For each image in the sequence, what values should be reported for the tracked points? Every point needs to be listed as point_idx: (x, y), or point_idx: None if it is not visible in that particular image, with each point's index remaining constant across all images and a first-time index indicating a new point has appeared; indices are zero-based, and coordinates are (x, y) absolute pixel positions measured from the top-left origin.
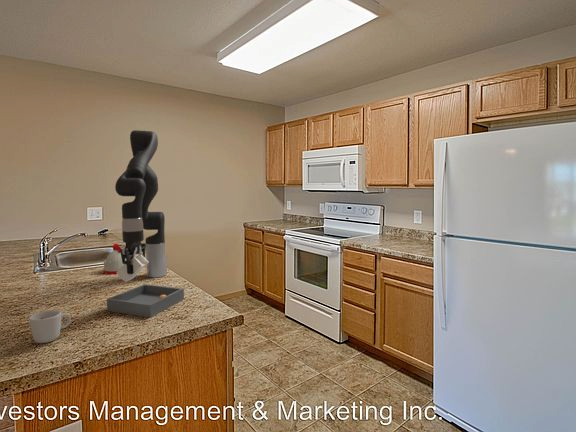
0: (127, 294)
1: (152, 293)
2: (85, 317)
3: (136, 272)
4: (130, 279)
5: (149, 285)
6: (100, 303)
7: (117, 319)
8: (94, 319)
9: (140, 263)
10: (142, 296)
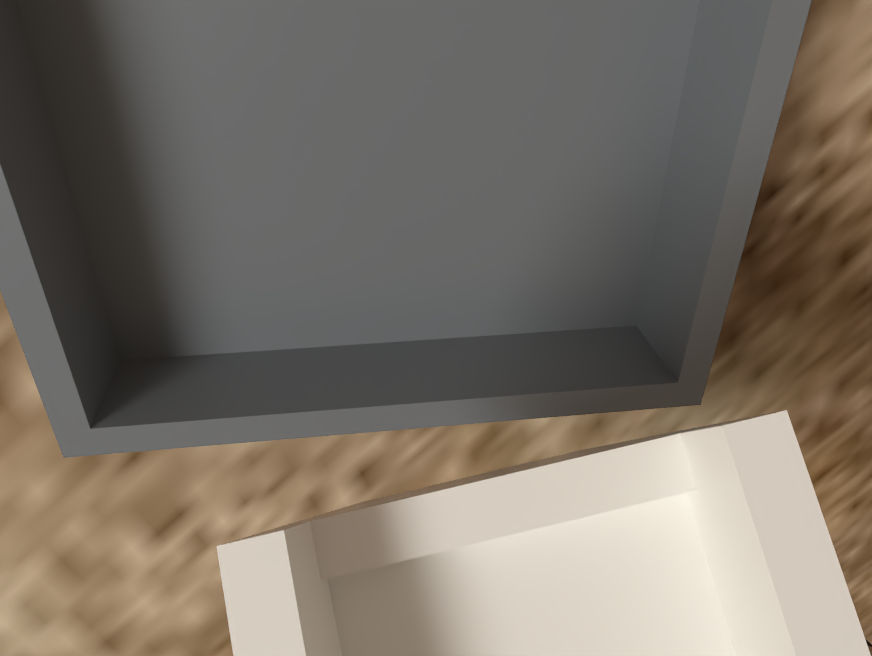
0: (419, 381)
1: (88, 253)
2: (805, 365)
3: (513, 468)
4: (458, 479)
5: (63, 356)
6: None
7: (856, 55)
8: (849, 268)
9: (781, 521)
10: (236, 292)
